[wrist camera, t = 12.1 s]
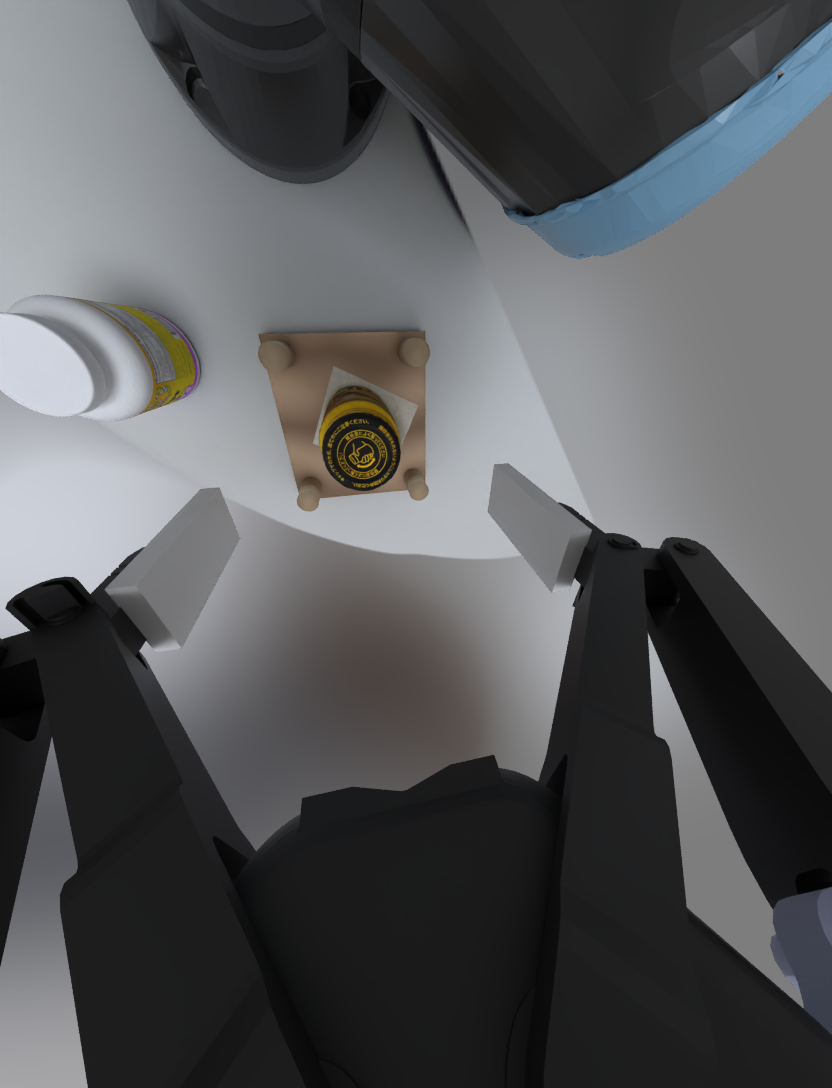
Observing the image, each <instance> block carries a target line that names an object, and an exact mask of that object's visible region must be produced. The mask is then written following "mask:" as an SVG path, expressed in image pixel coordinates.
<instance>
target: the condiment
mask: <svg viewBox="0 0 832 1088" xmlns="http://www.w3.org/2000/svg"><path fill="white" fill-rule="evenodd" d="M417 407H418V405H417V404H415V403H412V402H410V401H408V400H406V399H404V398H402V397H399V396H397V395H395V394H393V393H391V392H389V391H387V390H384V389H382V388H380V387H378V386H376V385H374V384H372V383H369V382H367V381H365V380H363V379H361V378H359V377H356V376H354V375H352V374H350V373H348V372H346V371H343V370H341V369H339V368H337V367H335V366H333V369H332V373H331V377H330V380H329V384H328V388H327V392H326V396H325V399H324V403H323V407H322V411H321V415H320V418H319V422H318V426H317V430H316V433H315V437H314V441H313V444H315V445H318V446H320V450H321V452H322V456H323V461H324V462H325V466H326V468H327V470H328V472H329V473H330V475H331V476H332V477H333V478H334V479H335V480H336V481H338V482H339V483H340V484H342V485H343V486H344V487H346V488H349V489H353V490H357V491H370V490H374V489H376V488H378V487H380V486H382V485H384V484H386V483H387V481H389V480H390V479H391V478H392V477H393V476H394V474H395V473H396V471H397V469H398V466H399V463H400V459H401V457H400V456H401V450H400V449H401V447H402V444H403V442H404V439H405V437H406V434H407V432H408V430H409V427H410V425H411V422H412V419H413V417H414V415H415V412H416V410H417Z"/></svg>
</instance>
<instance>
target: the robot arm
mask: <svg viewBox="0 0 832 1088" xmlns="http://www.w3.org/2000/svg"><path fill="white" fill-rule="evenodd" d="M127 1H128V3H129V5H130V7H131V9H132V12H133V14H134V16H135V18H136V20H137V22H138V24H139V26H140V28H141V30H142V32H143V34H144V36H145V38H146V39H147V41H148V43H149V45H150V47H151V48H152V50H153V52H154V54H155V55H156V57H157V59H158V60H159V62H160V64H161V65H162V67H163V68H164V70H165V71H166V73H167V74H168V76H169V77H170V79H171V80H172V82H173V83H174V85H175V86H176V88H177V89H178V91H179V92H180V94H181V95H182V97H183V98H184V100H185V101H186V103H187V104H188V105H189V107H190V108H191V109H192V111H193V112H194V114H195V115H196V116H197V117H198V119H199V120H200V121H201V122H202V123H203V125H204V126H205V127H206V128H207V129H208V130H209V131H210V133H211V134H212V135H213V136H214V137H215V138H216V139H217V140H218V141H219V142H220V143H221V144H222V145H223V146H225V147H226V148H227V149H228V150H229V151H230V152H231V153H233V154H234V155H235V156H236V157H237V158H239V159H240V160H242V161H243V162H244V163H246V164H247V165H249V166H250V167H252V168H254V169H255V170H257V171H259V172H261V173H263V174H265V175H267V176H270V177H272V178H275V179H278V180H282V181H286V182H291V183H314V182H319V181H323V180H326V179H328V178H331V177H333V176H335V175H337V174H338V173H340V172H341V171H343V170H344V169H346V168H347V167H348V166H349V165H350V164H351V163H353V162H354V161H355V160H356V158H357V157H358V156H359V155H360V154H361V153H362V151H363V150H364V148H365V147H366V146H367V144H368V142H369V141H370V139H371V137H372V136H373V134H374V132H375V130H376V128H377V125H378V123H379V121H380V118H381V116H382V113H383V110H384V107H385V104H386V100H387V96H388V92H389V91H390V92H391V93H392V94H393V95H394V96H395V97H396V98H397V99H398V100H399V101H400V102H401V103H402V104H403V105H404V106H405V107H406V108H407V109H408V110H409V111H410V112H411V113H412V114H413V115H414V116H415V117H416V118H417V119H418V120H419V121H420V122H421V123H422V124H423V125H424V126H425V127H426V128H427V129H428V130H429V131H430V132H431V133H432V134H433V135H434V136H435V137H436V138H437V139H438V140H439V141H440V142H441V143H442V144H443V145H444V146H445V147H446V148H447V149H448V150H449V151H450V152H451V153H452V154H453V155H454V156H455V157H456V158H457V159H458V160H459V161H460V162H461V163H462V164H463V165H464V166H465V167H466V168H467V169H468V170H469V171H470V172H471V173H472V174H473V175H474V176H475V177H476V178H477V179H478V180H479V181H480V182H481V183H482V184H483V185H484V186H485V187H486V188H487V189H488V191H490V193H492V195H493V196H494V197H495V198H496V199H497V200H498V201H499V202H500V203H501V204H502V206H503V209H504V212H505V214H506V215H507V216H508V217H509V218H510V219H511V220H513V221H514V222H516V223H519V224H521V225H527V226H528V227H530V228H531V229H532V230H533V231H535V233H536V234H538V235H539V236H540V237H541V238H542V239H543V240H545V241H546V242H547V243H548V244H549V245H550V246H552V247H553V248H554V249H555V250H556V251H558V252H559V253H561V254H563V255H565V256H568V257H572V258H578V259H580V258H586V257H590V256H597V255H598V256H605V255H609V254H612V253H615V252H618V251H620V250H623V249H625V248H627V247H630V246H632V245H635V244H637V243H639V242H641V241H643V240H645V239H647V238H649V237H650V236H652V235H654V234H656V233H658V232H659V231H661V230H663V229H664V228H666V227H668V226H669V225H671V224H673V223H674V222H676V221H677V220H679V219H680V218H682V217H683V216H685V215H686V214H688V213H689V212H691V211H692V210H694V209H695V208H697V207H698V206H699V205H701V204H702V203H704V202H705V201H706V200H708V199H709V198H710V197H712V196H713V195H714V194H716V193H717V192H719V191H720V190H721V189H722V188H724V187H725V186H726V185H727V184H729V183H730V182H731V181H733V180H734V179H735V178H736V177H738V176H739V175H740V174H742V173H743V172H744V171H745V170H746V169H748V168H749V167H750V166H751V165H753V164H754V163H755V162H756V161H757V160H758V159H760V158H761V156H763V155H764V154H765V153H767V152H768V151H769V150H770V149H771V148H772V147H774V146H775V145H776V144H777V143H778V142H779V141H780V140H781V139H783V138H784V137H785V136H786V135H787V134H788V133H789V132H790V131H791V130H792V129H794V128H795V126H797V125H798V124H799V123H800V122H801V121H802V120H803V119H804V118H805V117H806V116H807V115H808V114H809V113H810V112H811V111H812V110H814V109H815V107H817V106H818V105H819V104H820V103H821V102H822V101H823V100H824V99H825V98H826V97H827V96H828V95H829V94H830V93H831V92H832V0H127ZM488 513H489V514H490V515H491V517H492V518H493V519H494V520H495V522H496V523H497V524H498V526H499V527H500V528H501V529H502V531H503V532H504V533H505V534H506V536H507V537H508V538H509V539H510V541H511V542H512V543H513V544H514V546H515V547H516V548H517V550H518V551H519V552H520V553H521V555H522V556H523V557H524V558H525V560H526V561H527V562H528V563H529V565H530V566H531V567H532V568H533V570H534V571H535V572H536V574H537V575H538V576H539V577H540V579H541V580H542V581H543V582H544V584H545V585H546V586H547V587H548V589H549V590H550V591H551V592H552V593H554V592H560V591H567V590H570V588H571V585H572V583H573V580H574V578H575V579H576V580H577V581H578V582H579V583H580V584H581V585H580V588H579V591H578V593H577V595H576V598H575V601H574V603H573V606H574V607H575V610H574V615H573V620H572V625H571V631H570V635H569V641H568V646H567V651H566V656H565V661H564V667H563V672H562V677H561V682H560V688H559V693H558V698H557V703H556V708H555V713H554V719H553V724H552V729H551V735H550V739H549V744H548V750H547V754H546V758H545V761H544V764H543V768H542V771H541V774H540V777H539V781H536V780H534V779H532V778H530V777H528V776H526V775H523V774H521V773H518V772H515V771H511V770H507V769H502V768H498V765H497V762H496V759H495V756H494V755H491V756H487V757H482V758H478V759H473V760H469V761H465V762H461V763H456V764H452V765H449V766H447V767H445V768H444V769H442V770H440V771H439V772H437V773H435V774H434V775H432V776H430V777H428V778H427V779H425V780H424V781H422V782H420V783H418V784H417V785H415V786H413V787H412V788H410V789H408V790H405V791H392V790H381V789H369V788H360V787H350V788H345V789H341V790H336V791H332V792H328V793H323V794H318V795H314V796H309V797H305V798H302V805H301V814H300V815H298V816H297V817H295V818H293V819H292V820H290V821H289V822H288V823H286V824H285V825H284V826H282V827H281V828H280V829H279V830H277V831H276V832H275V833H274V834H273V835H272V836H271V837H270V838H268V840H267V841H266V842H265V843H264V844H263V845H262V846H261V847H260V848H259V849H258V850H257V851H255V849H254V848H253V846H252V845H251V843H250V842H249V841H248V839H247V838H246V837H245V835H244V834H243V833H242V831H241V830H240V829H239V827H238V825H237V824H236V822H235V820H234V818H233V817H232V815H231V813H230V811H229V810H228V808H227V806H226V804H225V802H224V800H223V799H222V797H221V795H220V793H219V791H218V790H217V788H216V786H215V784H214V782H213V781H212V779H211V777H210V775H209V773H208V772H207V769H206V768H205V766H204V764H203V763H202V760H201V759H200V757H199V755H198V753H197V751H196V750H195V748H194V746H193V744H192V742H191V741H190V739H189V737H188V735H187V733H186V731H185V730H184V728H183V726H182V724H181V722H180V721H179V719H178V717H177V715H176V713H175V712H174V710H173V708H172V706H171V704H170V703H169V701H168V699H167V697H166V695H165V693H164V692H163V690H162V688H161V686H160V684H159V682H158V681H157V679H156V677H155V675H154V673H153V672H152V670H151V668H150V666H149V664H148V663H147V661H146V659H145V657H144V656H143V655H142V654H141V653H140V652H139V650H140V649H141V647H142V646H143V644H144V643H145V641H147V642H148V643H149V645H150V646H151V647H152V648H153V650H154V651H155V652H162V651H167V650H174V649H181V648H182V647H183V645H184V643H185V641H186V639H187V637H188V635H189V634H190V632H191V630H192V628H193V626H194V624H195V622H196V620H197V619H198V617H199V615H200V613H201V611H202V609H203V607H204V605H205V604H206V602H207V600H208V598H209V596H210V594H211V592H212V591H213V589H214V587H215V585H216V583H217V581H218V579H219V577H220V575H221V574H222V572H223V570H224V568H225V566H226V564H227V562H228V560H229V558H230V557H231V555H232V553H233V551H234V549H235V547H236V545H237V544H238V542H239V539H240V537H239V534H238V532H237V529H236V527H235V524H234V522H233V519H232V517H231V515H230V512H229V510H228V508H227V505H226V503H225V500H224V498H223V495H222V493H221V491H220V488H207V489H201V490H199V491H198V493H197V494H196V495H195V496H194V497H193V498H192V499H191V500H190V501H189V502H188V503H187V504H186V505H185V506H184V507H183V508H182V509H181V510H180V511H179V512H178V513H177V514H176V515H175V516H174V518H173V519H172V520H171V521H170V522H169V523H168V524H167V525H166V526H165V527H164V528H163V529H162V530H161V531H160V532H159V533H158V534H157V535H156V536H155V537H154V538H153V539H152V540H151V541H150V543H149V544H148V545H147V546H146V547H143V548H141V549H140V550H138V551H136V552H134V553H133V554H131V555H130V556H128V557H127V558H126V559H125V560H124V561H123V562H122V563H121V564H120V565H119V568H116V569H115V570H114V571H113V572H112V573H111V576H108V577H107V578H106V579H105V580H104V581H103V582H102V583H101V584H100V585H99V586H98V587H97V588H96V589H95V590H94V591H93V592H92V593H91V594H89V592H88V591H87V590H86V589H85V588H84V587H83V585H82V584H81V583H80V582H79V581H78V580H77V579H75V578H74V577H61V578H55V579H51V580H48V581H45V582H41V583H39V584H37V585H34V586H32V587H30V588H28V589H26V590H24V591H22V592H21V593H19V594H17V595H16V596H14V597H13V598H12V599H11V600H10V601H9V602H8V603H7V606H6V610H8V611H9V612H10V613H11V614H12V615H13V616H14V617H15V618H17V619H18V620H19V621H20V622H21V623H22V624H23V625H24V626H26V627H27V628H28V629H29V630H30V631H28V632H24V633H21V634H18V635H15V636H11V637H8V638H4V639H1V638H0V965H1V961H2V956H3V952H4V947H5V943H6V939H7V934H8V930H9V925H10V920H11V916H12V912H13V907H14V903H15V898H16V894H17V890H18V885H19V880H20V876H21V871H22V867H23V863H24V858H25V854H26V849H27V845H28V840H29V836H30V831H31V827H32V822H33V818H34V814H35V809H36V805H37V800H38V796H39V791H40V787H41V782H42V778H43V773H44V768H45V765H46V760H47V756H48V751H49V747H50V742H51V738H53V743H54V748H55V753H56V758H57V762H58V767H59V772H60V777H61V782H62V787H63V792H64V797H65V801H66V806H67V811H68V816H69V820H70V826H71V831H72V836H73V840H74V845H75V850H76V855H77V859H78V869H77V872H76V874H75V875H73V876H72V877H71V878H70V879H69V880H67V881H66V882H65V883H64V885H63V888H62V891H61V894H60V913H61V919H62V925H63V932H64V938H65V944H66V950H67V957H68V964H69V969H70V976H71V983H72V989H73V995H74V1001H75V1008H76V1015H77V1021H78V1027H79V1033H80V1040H81V1046H82V1053H83V1059H84V1065H85V1072H86V1078H87V1084H88V1088H832V693H831V691H830V690H829V689H828V688H827V687H826V685H825V684H824V683H823V682H822V681H821V680H820V679H819V677H818V676H817V675H816V674H815V673H814V672H813V670H812V669H811V668H810V667H809V666H808V664H807V663H806V662H805V661H804V660H803V659H802V658H801V656H800V655H799V654H798V653H797V652H796V650H795V649H794V648H793V647H792V646H791V645H790V644H789V642H788V641H787V640H786V639H785V638H784V636H783V635H782V634H781V633H780V632H779V631H778V630H777V628H776V627H775V626H774V625H773V624H772V623H771V621H770V620H769V619H768V618H767V617H766V616H765V614H764V613H763V612H762V611H761V610H760V609H759V607H758V606H757V605H756V604H755V603H754V602H753V600H752V599H751V598H750V597H749V596H748V595H747V593H746V592H745V591H744V590H743V589H742V588H741V586H739V584H738V583H737V582H736V581H735V580H734V578H733V577H732V576H731V575H730V574H729V572H728V571H727V570H726V569H725V568H724V567H723V565H722V564H721V563H720V562H719V561H718V560H717V558H716V557H715V556H714V555H713V554H712V553H711V552H710V550H708V549H707V548H706V547H705V546H703V545H701V544H699V543H698V542H696V541H693V540H692V541H691V539H687V538H685V539H684V538H677V537H670V538H666V539H665V540H664V541H663V543H662V545H661V547H660V549H653V548H642V547H641V545H640V544H639V543H638V542H637V541H636V540H634V539H632V538H630V537H628V536H625V535H621V534H615V533H606V534H605V533H604V532H603V531H601V530H600V529H599V528H597V527H596V526H595V525H594V524H592V523H591V522H590V521H588V520H586V519H585V518H584V517H583V516H582V515H579V513H578V512H577V511H575V510H574V509H573V508H571V507H569V506H567V505H565V504H562V503H557V502H556V501H555V500H553V499H552V498H551V497H550V496H548V495H547V494H546V493H545V492H543V491H542V490H541V489H540V488H538V487H537V486H536V485H535V484H533V483H532V482H531V481H530V480H528V479H527V478H526V477H525V476H523V475H522V474H521V473H520V472H518V471H517V470H516V469H515V468H513V467H512V466H511V465H510V464H508V463H507V464H495V465H494V470H493V477H492V484H491V492H490V499H489V506H488ZM647 631H648V632H647ZM648 633H649V636H650V638H651V641H652V643H653V645H654V648H655V650H656V652H657V655H658V657H659V659H660V662H661V664H662V667H663V669H664V672H665V674H666V676H667V679H668V681H669V684H670V686H671V688H672V691H673V693H674V695H675V698H676V700H677V703H678V705H679V707H680V710H681V712H682V714H683V717H684V719H685V722H686V724H687V726H688V729H689V731H690V733H691V736H692V738H693V741H694V743H695V745H696V748H697V750H698V753H699V755H700V757H701V760H702V762H703V765H704V767H705V769H706V772H707V774H708V776H709V779H710V781H711V784H712V786H713V788H714V791H715V793H716V795H717V798H718V800H719V803H720V805H721V808H722V810H723V812H724V815H725V817H726V820H727V822H728V824H729V827H730V829H731V831H732V833H733V835H734V837H735V840H736V842H737V844H738V846H739V848H740V850H741V853H742V855H743V857H744V859H745V861H746V863H747V865H748V866H749V868H750V870H751V872H752V873H753V875H754V877H755V879H756V881H757V882H758V885H759V886H760V888H761V890H762V892H763V894H764V895H765V897H766V899H767V901H768V902H769V904H770V906H771V907H772V909H773V924H774V928H775V932H776V934H775V935H774V936H772V937H771V950H772V952H773V956H774V959H775V961H776V963H777V964H778V966H779V967H780V969H781V971H782V972H783V974H784V976H785V977H786V978H787V979H788V980H789V981H790V982H791V983H792V984H793V985H794V987H796V989H797V990H798V991H800V993H801V996H802V1000H803V1003H804V1009H803V1008H802V1007H801V1006H800V1005H799V1004H797V1003H796V1002H795V1001H794V1000H793V999H792V998H790V997H789V996H788V995H787V994H786V993H785V992H784V991H782V990H781V989H780V988H779V987H778V986H776V985H775V984H774V983H773V982H772V981H771V980H770V979H768V978H767V977H766V976H765V975H764V974H763V973H762V972H760V971H759V970H758V969H757V968H756V967H755V966H754V965H752V964H751V963H750V962H749V961H748V960H747V959H746V958H744V957H743V956H742V955H741V954H740V953H738V952H737V951H736V950H735V949H734V948H733V947H732V946H730V945H729V944H728V943H727V942H726V941H725V940H724V939H722V938H721V937H720V936H719V935H718V934H717V933H716V932H714V931H713V930H712V929H711V928H710V927H709V926H707V925H706V924H705V923H704V922H703V921H702V920H701V919H699V918H698V917H697V916H696V915H694V914H693V913H692V912H691V911H690V910H689V909H688V908H687V907H686V897H685V887H684V877H683V867H682V857H681V849H680V848H681V847H680V837H679V828H678V818H677V807H676V798H675V788H674V778H673V768H672V758H671V754H670V749H669V746H668V744H667V743H666V741H665V740H664V739H662V738H660V737H657V736H656V734H655V733H654V726H653V713H652V712H653V711H652V695H651V679H650V665H649V664H650V663H649V649H648V648H649V647H648Z"/></svg>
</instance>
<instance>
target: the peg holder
mask: <svg viewBox="0 0 832 1088" xmlns="http://www.w3.org/2000/svg"><path fill="white" fill-rule="evenodd" d="M259 338H260V342H261V346H260V347H259V351H258V355H259V359H260V361H261V363H262V365H263V366H264V367H265V368H266V369H267V370H268V374H269V378H270V382H271V386H272V390H273V393H274V397H275V401H276V405H277V409H278V413H279V417H280V421H281V425H282V429H283V433H284V437H285V441H286V445H287V449H288V453H289V456H290V460H291V464H292V468H293V472H294V476H295V480H296V484H297V488H298V492H299V495H298V498H297V504H298V506H299V507H300V508H301V509H302V510H304V511H313V510H315V509H316V508H317V507H318V505H319V499H320V498H327V497H338V496H348V495H359V494H370V493H380V492H391V491H401V490H408V491H409V494H410V496H411V498H412V499H414V500H423V499H424V498H426V496H427V495H428V492H429V489H428V486H427V485H426V483H425V364H426V362H427V361H428V359H429V354H430V351H429V347H428V344H427V343H426V342H425V331H398V332H339V333H281V334H259ZM333 366H335V367H337V368H339V369H341V370H343V371H346V372H348V373H350V374H352V375H354V376H356V377H359V378H361V379H363V380H365V381H367V382H369V383H372V384H374V385H376V386H378V387H380V388H382V389H384V390H387V391H389V392H391V393H393V394H395V395H397V396H399V397H402V398H404V399H406V400H408V401H410V402H412V403H415V404H417V405H418V407H417V410H416V412H415V415H414V417H413V419H412V422H411V425H410V427H409V430H408V432H407V434H406V437H405V439H404V442H403V444H402V447H401V449H400V450H401V456H400V457H401V459H400V463H399V466H398V469H397V471H396V473H395V474H394V476H393V477H392V478H391V479H390V480H389V481H387V483H386V484H384V485H382V486H380V487H378V488H376V489H374V490H370V491H357V490H353V489H349V488H346V487H344V486H343V485H342V484H340V483H339V482H338V481H336V480H335V479H334V478H333V477H332V476H331V475H330V473H329V472H328V470H327V468H326V466H325V462H324V461H323V456H322V452H321V450H320V446H318V445H315V444H313V441H314V437H315V433H316V430H317V426H318V422H319V418H320V415H321V411H322V407H323V403H324V399H325V396H326V392H327V388H328V384H329V380H330V377H331V373H332V369H333Z"/></svg>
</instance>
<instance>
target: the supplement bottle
mask: <svg viewBox="0 0 832 1088" xmlns="http://www.w3.org/2000/svg"><path fill="white" fill-rule="evenodd" d="M199 377H200V366H199V361H198V358H197V355H196V353H195V351H194V349H193V347H192V345H191V344H190V342H189V341H188V339H187V338H186V337H185V335H184V334H183V333H182V332H181V331H180V330H179V329H178V328H177V327H176V326H175V325H173V324H172V323H171V322H169V321H168V320H166V319H165V318H163V317H162V316H160V315H158V314H156V313H153V312H151V311H148V310H144V309H140V308H134V307H127V306H121V305H114V304H107V303H101V302H94V301H87V300H81V299H75V298H69V297H61V296H53V295H36V296H31V297H27V298H24V299H22V300H20V301H18V302H16V303H15V304H14V305H13V306H12V307H11V308H10V309H9V310H8V312H7V313H0V390H1V391H2V392H4V393H5V394H6V395H7V396H9V397H10V398H12V399H13V400H15V401H16V402H18V403H20V404H21V405H24V406H25V407H27V408H30V409H32V410H34V411H37V412H40V413H43V414H47V415H52V416H59V417H67V416H74V415H79V416H82V417H85V418H89V419H93V420H99V421H119V420H124V419H128V418H131V417H134V416H137V415H139V414H142V413H145V412H147V411H150V410H153V409H156V408H159V407H161V406H164V405H167V404H170V403H172V402H175V401H178V400H180V399H182V398H185V397H186V396H188V395H189V394H191V393H192V392H193V391H194V389H195V388H196V386H197V384H198V381H199Z"/></svg>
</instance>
